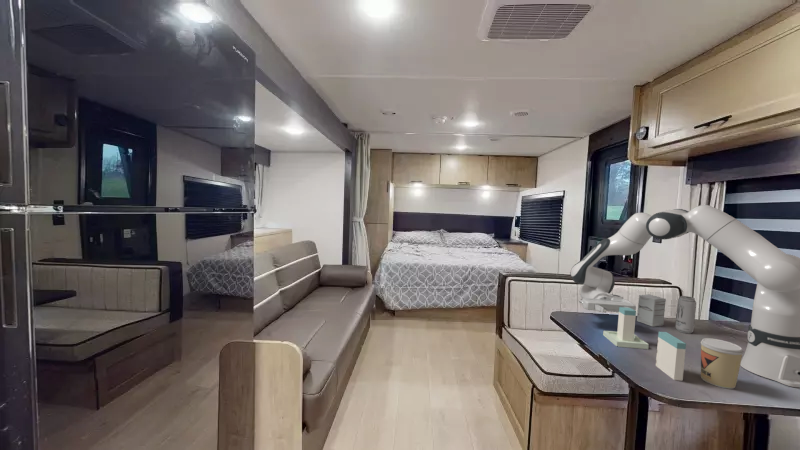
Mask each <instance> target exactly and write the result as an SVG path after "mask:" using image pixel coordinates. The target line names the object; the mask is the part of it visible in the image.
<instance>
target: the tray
mask: <svg viewBox="0 0 800 450" xmlns="http://www.w3.org/2000/svg"><path fill="white" fill-rule="evenodd" d="M602 333H603V334H602V335H603V336H604V337H605V338H606V339H607V340H608V341H609V342H611V343H612V344H613V345H614V346H616V347H617V346H618V347H619V348H629V349H631V348H632V349H640V350H641V349H642V350H644V349H645V350H649V343H647V342H646V341H644V339H642V338H641V337H639V336H638V335H637V334H635V333H634V341H622V340H621V339H620V338H618V337H617V331H615V330H614V331H613V330H603V332H602Z"/></svg>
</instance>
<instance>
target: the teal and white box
mask: <svg viewBox="0 0 800 450" xmlns="http://www.w3.org/2000/svg"><path fill="white" fill-rule="evenodd" d="M656 346H657V348H656V358H655V367H656V368H658V369H659V370H660V371H662V372H663V373H664V374H666V375H667V376H668V377H669V378H671V379H672V380H674V381H681V382H682V381H683V379H684V370H685V369H684V368H685V361H686V359H685V358H686V350H687V343H686V342H684V341H682V340H680V339H679V338H677V337H676V336H673V334H670V333H669V332H667V331H658V335H657V345H656Z"/></svg>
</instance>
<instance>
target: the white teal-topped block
mask: <svg viewBox="0 0 800 450" xmlns="http://www.w3.org/2000/svg"><path fill="white" fill-rule="evenodd" d="M636 314H637V311H635V310H633V309H631V308H625V307H619V312H618V319H617V331H616V332H617V337H618V338H620V339H621V340H622V341H634V334H635V328H636V327H635V326H636V318H637V315H636Z"/></svg>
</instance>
